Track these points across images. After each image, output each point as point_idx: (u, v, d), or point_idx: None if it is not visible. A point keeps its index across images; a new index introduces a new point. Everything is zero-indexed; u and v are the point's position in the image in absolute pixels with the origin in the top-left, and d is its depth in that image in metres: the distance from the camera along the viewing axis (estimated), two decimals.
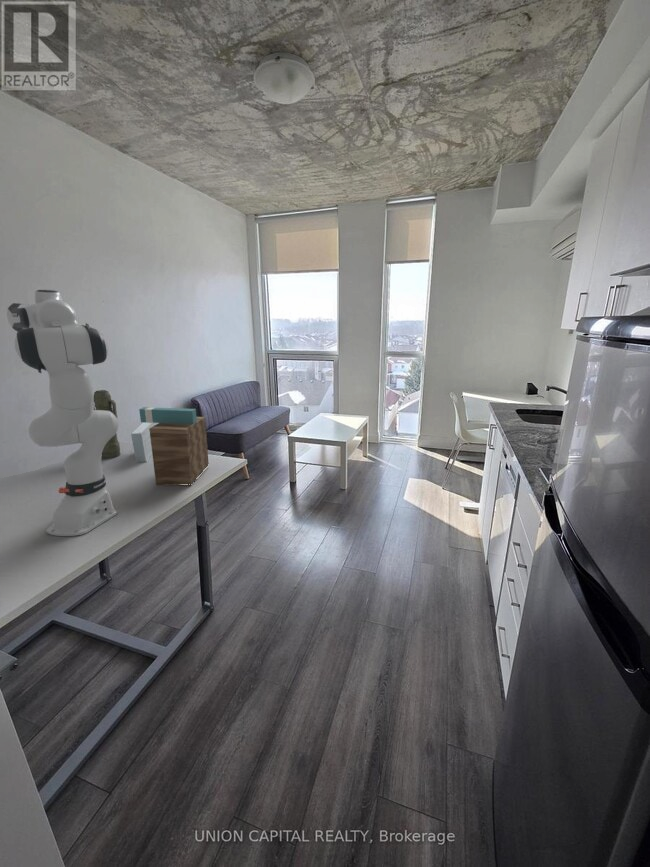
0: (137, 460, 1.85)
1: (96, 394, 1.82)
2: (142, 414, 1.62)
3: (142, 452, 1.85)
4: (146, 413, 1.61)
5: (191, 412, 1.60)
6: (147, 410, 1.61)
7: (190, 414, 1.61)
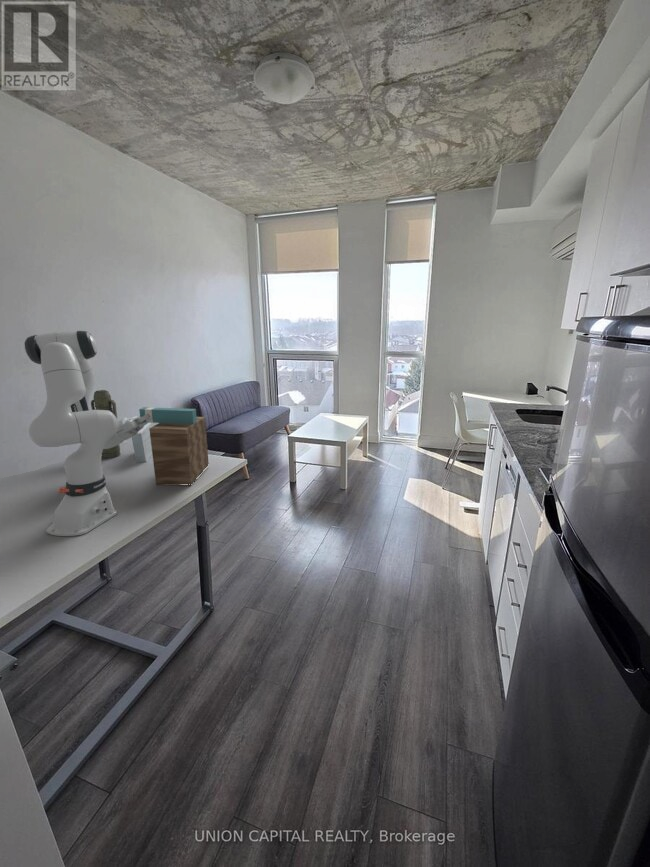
0: (137, 460, 1.85)
1: (96, 394, 1.82)
2: (142, 414, 1.62)
3: (142, 452, 1.85)
4: (146, 413, 1.61)
5: (191, 412, 1.60)
6: (147, 410, 1.61)
7: (190, 414, 1.61)
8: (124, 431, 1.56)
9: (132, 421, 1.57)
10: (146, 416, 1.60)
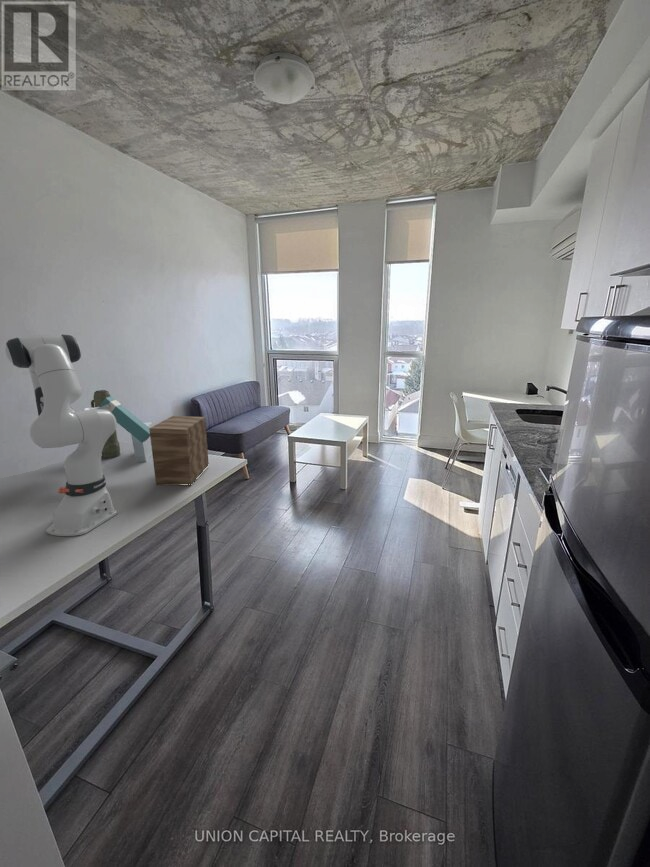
0: (137, 460, 1.85)
1: (96, 394, 1.82)
2: (104, 403, 1.61)
3: (142, 452, 1.85)
4: None
5: (147, 434, 1.64)
6: (112, 404, 1.61)
7: (145, 434, 1.65)
8: None
9: None
10: (107, 406, 1.60)
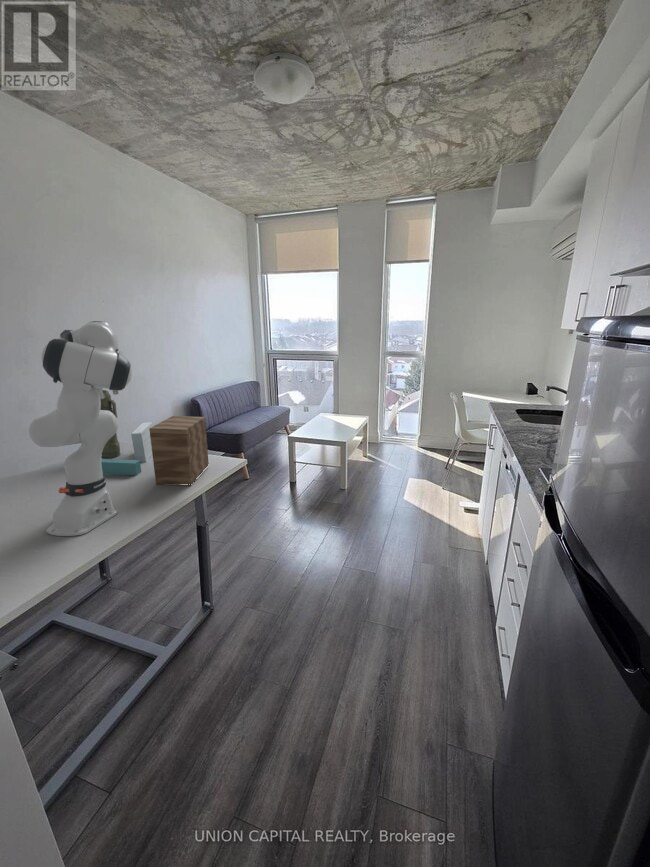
0: None
1: None
2: None
3: (142, 452, 1.85)
4: None
5: (134, 464, 1.69)
6: None
7: (133, 466, 1.69)
8: None
9: (97, 388, 1.43)
10: (100, 397, 1.46)
